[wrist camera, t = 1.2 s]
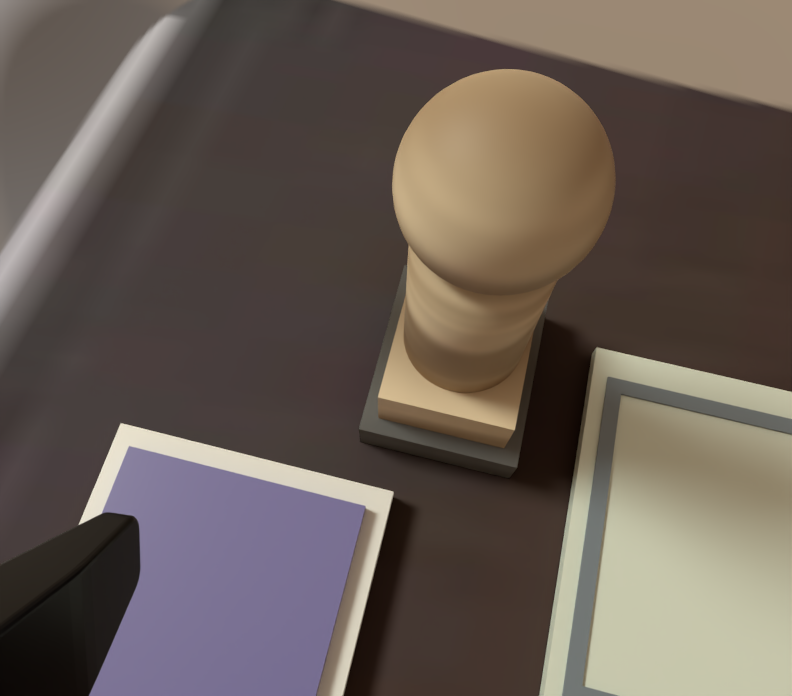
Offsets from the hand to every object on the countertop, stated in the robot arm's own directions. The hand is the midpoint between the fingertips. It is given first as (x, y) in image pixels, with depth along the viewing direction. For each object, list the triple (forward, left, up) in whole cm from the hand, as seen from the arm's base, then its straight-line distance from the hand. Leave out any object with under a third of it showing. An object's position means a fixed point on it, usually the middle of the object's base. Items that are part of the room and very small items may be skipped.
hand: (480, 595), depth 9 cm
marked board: (+4, -9, -13) cm, 17 cm away
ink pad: (-1, +6, -13) cm, 15 cm away
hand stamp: (+8, +1, -13) cm, 16 cm away
